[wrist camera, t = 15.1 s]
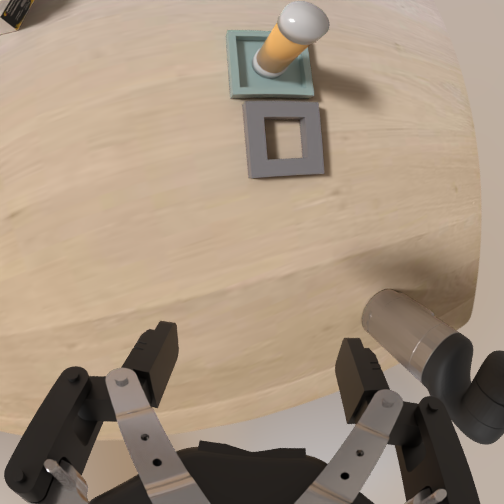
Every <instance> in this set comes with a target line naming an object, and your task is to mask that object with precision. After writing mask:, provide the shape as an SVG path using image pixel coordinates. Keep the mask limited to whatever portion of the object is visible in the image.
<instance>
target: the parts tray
mask: <svg viewBox="0 0 504 504" xmlns="http://www.w3.org/2000/svg"><path fill="white" fill-rule="evenodd" d="M270 33H271V31H254V30H228V31H227V34H226V48H227V61H228V74H229V87H230V99H232V98H303V99H309V98H311V97H313V96H314V89H313V81H312V74H311V66H310V59H309V52H308V47H307V48H306V49H305V50H304V51H303V52H302V53H301V54H300V55H299V56H298V57H297V58H296V59H295V60H294V61H293V62H292V63H291V64H290V65H289V66H288V68H287V70H286V71H285V72H284V73H283V74H282V75H281V76H279V77H277V78H275V79H265V78H263V77H260V76H259V75H258V74H256V73H255V71H254V70H253V68H252V59H253V57H254V55H255V54H256V52H257V50H258V49H260V48H261V47H262V45H263V44H264V42H265V40H266V39H267V37H268V36H269V34H270Z"/></svg>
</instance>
